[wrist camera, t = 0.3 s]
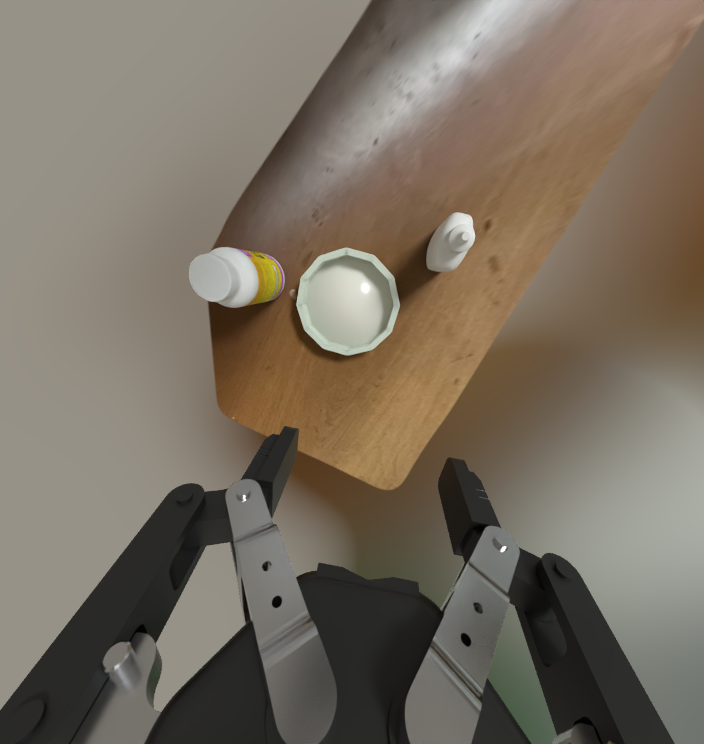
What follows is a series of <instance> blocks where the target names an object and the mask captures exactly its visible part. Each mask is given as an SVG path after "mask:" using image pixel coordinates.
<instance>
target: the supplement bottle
mask: <svg viewBox="0 0 704 744" xmlns="http://www.w3.org/2000/svg"><path fill="white" fill-rule="evenodd" d="M189 280H190V283H191V286H192V288H193V289H194V291H195V292H196V293H197V294H198V295H199V296H200V297H202V298H203V299H205V300H207V301H211V302H217V303H219V304H221V305H223V306H226V307H231V308H238V307H243V306H247V305H252V304H257V303H262V302H268V301H271V300H274V299H276V298H277V297H278V296H279V295H280V294H281V292H282V291H283V288H284V284H285V276H284V272H283V269H282V267H281V266H280V264H279V263H278V262H277V261H276V260H275V259H274V258H273V257H271V256H269V255H267V254H263V253H258V252H253V251H247V250H241V249H235V248H230V247H220V248H216V249H214V250H212V251H211V252H209V253H208V254H202V255H199V256H197V257H196V258H195V259H194V260H193V261H192V262H191V264H190V267H189Z"/></svg>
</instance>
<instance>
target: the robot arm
mask: <svg viewBox="0 0 704 744" xmlns="http://www.w3.org/2000/svg"><path fill="white" fill-rule="evenodd" d="M298 434H299V429H298V428H292V427H287V426H284V428H283V430H282V431H281V433H280V435H275V434H272V435H270V436H269V437H268V438H266V439H265V440H264V442H263V444H262V445H261V447H260V449H259V450H258V452H257V454H256V455H255V457H254V459H253V460H252V462H251V464H250V466H249V467H248V469H247V470H246V472H245V474H244V475H243V477H242V479H241V480H239V481H237V482H235V483H233V484H232V485H231V486H230V487H229V488H228V489H224V490H218V491H208V492H204V490H203V488H202V486H200V485H198V484H193V483H190V484H184V485H181V486H179V487H177V488H175V489H174V490H172V491H171V492H170V493H169V494H168V495H167V496H166V497H165V499H164V500H163V501H162V503H161V504H160V505H159V507H158V508H157V509H156V510H155V512H154V513H153V514H152V515H151V517H150V518H149V520H148V521H147V522H146V523H145V525H144V526H143V527H142V528H141V530H140V531H139V532H138V534H137V535H136V536H135V537H134V539H133V540H132V541H131V543H130V544H129V545H128V547H127V548H126V549H125V550H124V552H123V553H122V554H121V555H120V557H119V558H118V559H117V561H116V562H115V563H114V565H113V566H112V567H111V568H110V570H109V571H108V572H107V574H106V575H105V576H104V577H103V579H102V580H101V582H100V583H99V584H98V585H97V587H96V588H95V589H94V590H93V592H92V593H91V594H90V595H89V597H88V598H87V599H86V601H85V602H84V603H83V605H82V606H81V607H80V608H79V610H78V611H77V612H76V614H75V615H74V616H73V617H72V619H71V620H70V621H69V623H68V624H67V625H66V626H65V628H64V629H63V630H62V632H61V633H60V634H59V635H58V637H57V638H56V639H55V641H54V642H53V643H52V644H51V646H50V647H49V648H48V650H47V651H46V652H45V654H44V655H43V656H42V658H41V659H40V660H39V661H38V663H37V664H36V665H35V666H34V668H33V669H32V670H31V672H30V673H29V674H28V675H27V677H26V678H25V679H24V681H23V682H22V683H21V684H20V686H19V687H18V688H17V690H16V691H15V692H14V693H13V695H12V696H11V698H10V699H9V700H8V701H7V703H6V704H5V705H4V706H3V708H2V709H1V710H0V744H531V742H530V741H529V740H528V738H527V737H526V735H525V734H524V732H523V731H522V729H521V728H520V726H519V725H518V723H517V722H516V720H515V719H514V717H513V716H512V714H511V713H510V711H509V710H508V708H507V707H506V705H505V704H504V702H503V701H502V700H501V698H500V696H499V695H498V693H497V692H496V690H495V689H494V687H493V686H492V684H491V683H490V681H489V680H488V678H487V676H488V673H489V669H490V666H491V663H492V659H493V656H494V653H495V649H496V646H497V643H498V639H499V636H500V632H501V629H502V626H503V622H504V619H505V615H506V612H507V609H508V605H509V603H511V604H513V605H514V606H515V608H516V611H517V614H518V617H519V620H520V623H521V626H522V630H523V632H524V636H525V639H526V641H527V645H528V648H529V651H530V654H531V657H532V660H533V663H534V666H535V669H536V672H537V675H538V678H539V681H540V684H541V687H542V691H543V693H544V697H545V700H546V703H547V706H548V709H549V712H550V715H551V718H552V721H553V724H554V727H555V730H556V733H557V736H556V737H555V738H554V740H553V744H674V742H673V740H672V738H671V736H670V735H669V733H668V731H667V729H666V728H665V726H664V724H663V722H662V720H661V719H660V717H659V715H658V713H657V712H656V710H655V708H654V706H653V704H652V702H651V701H650V699H649V697H648V695H647V694H646V692H645V690H644V688H643V686H642V685H641V683H640V681H639V679H638V677H637V676H636V674H635V672H634V670H633V669H632V667H631V665H630V663H629V662H628V660H627V658H626V656H625V654H624V652H623V651H622V649H621V647H620V645H619V644H618V642H617V640H616V638H615V636H614V635H613V633H612V631H611V629H610V628H609V626H608V624H607V622H606V620H605V619H604V617H603V615H602V613H601V611H600V610H599V608H598V606H597V604H596V602H595V601H594V599H593V597H592V595H591V593H590V592H589V590H588V588H587V586H586V584H585V583H584V581H583V579H582V578H581V576H580V574H579V573H578V572H577V570H576V569H575V568H574V567H573V566H572V565H571V564H570V563H569V562H568V561H567V560H565V559H564V558H562V557H560V556H558V555H556V554H553V553H547V554H544V555H543V556H542V558H539V557H537V556H535V555H533V554H531V553H529V552H527V551H525V550H523V549H521V548H519V547H518V545H517V543H516V541H515V540H514V539H513V537H512V536H511V535H510V534H508V533H507V532H506V531H504V530H503V529H501V527H500V524H499V522H498V520H497V517H496V515H495V513H494V510H493V508H492V506H491V503H490V501H489V500H488V496H487V494H486V492H485V489H484V487H483V485H482V482H481V480H480V479H479V478H478V477H477V476H476V475H475V473H474V472H470V471H469V470H468V468H467V465H466V463H465V461H464V460H461V459H456V458H450V457H449V458H448V459H447V460H446V463H445V465H444V468H443V470H442V472H441V475H440V477H439V482H438V489H439V494H440V498H441V502H442V506H443V511H444V515H445V519H446V523H447V528H448V532H449V535H450V540H451V544H452V549H453V553H454V554H455V555H459V556H463V558H464V562H465V563H464V564H463V566H462V568H461V570H460V572H459V574H458V576H457V578H456V580H455V582H454V584H453V586H452V588H451V590H450V592H449V594H448V596H447V598H446V600H445V602H444V604H443V605H442V607H441V609H440V608H439V607H438V606H437V605H436V604H435V603H434V602H433V601H432V600H430V599H429V598H428V597H427V596H425V595H424V594H422V593H420V592H419V587H418V582H414V581H410V580H404V579H400V578H395V577H392V578H384V579H374V580H367V579H365V578H363V577H361V576H359V575H357V574H355V573H353V572H351V571H349V570H347V569H345V568H343V567H339V566H333V565H328V564H323V563H319V564H318V568H317V571H311V572H307V573H304V574H302V575H299V576H298V577H296V576H295V573H294V571H293V568H292V565H291V563H290V560H289V557H288V554H287V551H286V548H285V545H284V542H283V540H282V537H281V534H280V531H279V529H278V527H277V525H274V524H273V522H272V519H271V518H272V517H273V515H274V512H275V510H276V507H277V504H278V502H279V500H280V497H281V494H282V492H283V489H284V487H285V484H286V482H287V479H288V477H289V474H290V472H291V469H292V467H293V464H294V462H295V458H296V454H297V447H298ZM227 542H230V546H231V551H232V555H233V561H234V566H235V571H236V576H237V582H238V588H239V595H240V601H241V607H242V612H243V617H244V622H245V626H243V627H242V628H241V629H240V631H238V632H237V633H236V634H235V636H233V637H232V638H231V639H230V640H229V641H228V642H227V643H226V644H225V645H224V646H223V647H222V648H221V649H220V650H219V651H218V652H217V653H216V654H215V655H214V656H213V657H212V658H211V659H210V660H209V661H208V662H207V663H206V664H205V665H204V666H203V667H202V668H201V669H200V670H199V671H198V672H197V673H196V674H195V675H194V676H193V677H192V678H191V679H190V680H189V681H188V682H187V683H186V684H185V685H184V686H183V687H182V688H181V689H180V690H179V691H178V692H177V693H176V694H175V695H174V696H173V697H172V699H171V700H170V701H169V702H168V704H167V705H166V706H165V708H164V709H163V711H162V712H159V711H156V710H154V704H153V703H154V694H155V690H156V687H157V684H158V681H159V679H160V675H161V671H162V659H161V656H160V654H159V651H158V649H157V646H156V642H157V640H158V638H159V636H160V634H161V632H162V630H163V628H164V626H165V625H166V622H167V621H168V619H169V617H170V615H171V613H172V611H173V609H174V607H175V605H176V603H177V601H178V599H179V597H180V596H181V594H182V592H183V590H184V588H185V586H186V584H187V582H188V580H189V578H190V576H191V574H192V572H193V570H194V568H195V567H196V565H197V562H198V561H199V559H200V557H201V555H202V553H203V551H204V549H205V547H206V546H207V545H213V544H220V543H227Z"/></svg>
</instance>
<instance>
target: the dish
mask: <svg viewBox="0 0 704 744" xmlns="http://www.w3.org/2000/svg"><path fill="white" fill-rule="evenodd" d="M296 306H297V309H298V312H299V315H300V318H301V321H302V324H303V327H304V330H305V331H306V332H307V333H308V334H309V335H310V336H311V337H312V338H313V339H314V340H315V341H316V342H317V343H318V344H319V345H320V346H321V347H322V348H323V349H326V350H329V351H333V352H336V353H340V354H343V355H353V354H357V353H361V352H366V351H370V350H373V349H374V348H375V347H376V346H377V345H378V344H379V343H380V342H381V341H383V340H384V339H385V338H386V337H387V336H388V335H389V334H390V333H391V332H392V329H393V326H394V323H395V320H396V317H397V314H398V311H399V308H400V303H399V298H398V293H397V288H396V284H395V279H394V276H393V275H392V274H391V273H390V272H389V271H388V270H387V269H386V268H385V267H384V265H383V264H382V263H381V262H380V261H379V260H378V259H377V258H376V257H375V256H374V255H372V254H368V253H364V252H361V251H357V250H354V249H350V248H343V249H340V250H337V251H333V252H330V253H327V254H324V255H321V256H319V257H318V258H317V259H316V260H315V261H314V263H313V264H312V265H311V266H310V267H309V269H308V270H307V271H306V272H305V273H304V275H303V276H302V277H301V280H300V286H299V291H298V297H297V303H296Z"/></svg>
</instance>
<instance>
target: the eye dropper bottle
mask: <svg viewBox="0 0 704 744" xmlns="http://www.w3.org/2000/svg"><path fill="white" fill-rule="evenodd" d="M474 240H475V232H474V230H473V220H472V217H471V216H470V215H467V214H463V213H458V212H457V213H453V214H452V215H450V216H449V217H448V218H447V219H446V220H445V221H444V222H443V223H442V224H441V225H440V226H439V227H438V228H437V229H436V231H435V232H434V234H433V236H432V238H431V240H430V242H429V245H428V249H427V255H426V265H427V268H428V269H429V270H432V271H436V272H447V271H452V270H454V269H455V268H456V267H457V266H458V265H459V264H460V263H461V261H462V260H463V258H464V257H465V255H466V253H467V251H468V249H469V248H470V247H471V246H472V244H473V243H474Z"/></svg>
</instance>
